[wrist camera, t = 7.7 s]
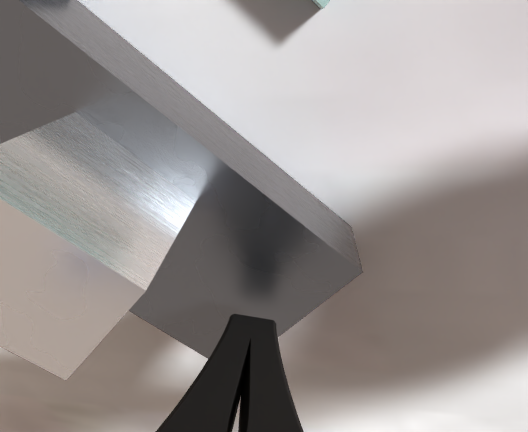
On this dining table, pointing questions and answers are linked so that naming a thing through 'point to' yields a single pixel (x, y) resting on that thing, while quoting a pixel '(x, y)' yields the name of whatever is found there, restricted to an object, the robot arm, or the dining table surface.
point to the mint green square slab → (321, 3)
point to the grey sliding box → (179, 176)
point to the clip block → (77, 239)
